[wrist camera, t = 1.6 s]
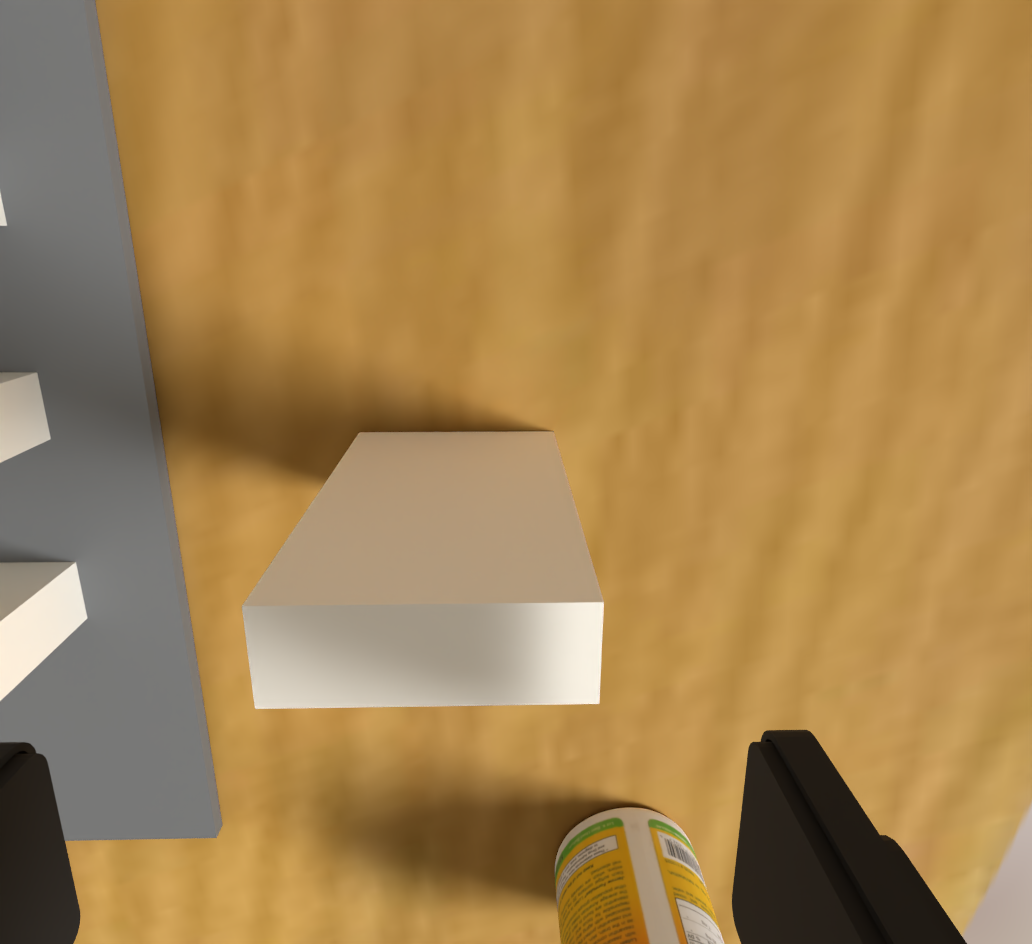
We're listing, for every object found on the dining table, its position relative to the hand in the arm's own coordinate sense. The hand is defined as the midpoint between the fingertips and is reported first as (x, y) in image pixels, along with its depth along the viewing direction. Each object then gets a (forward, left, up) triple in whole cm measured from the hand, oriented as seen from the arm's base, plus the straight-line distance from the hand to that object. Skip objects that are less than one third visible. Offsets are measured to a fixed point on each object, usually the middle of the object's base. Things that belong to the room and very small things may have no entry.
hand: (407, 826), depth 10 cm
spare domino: (-1, 0, -14) cm, 14 cm away
